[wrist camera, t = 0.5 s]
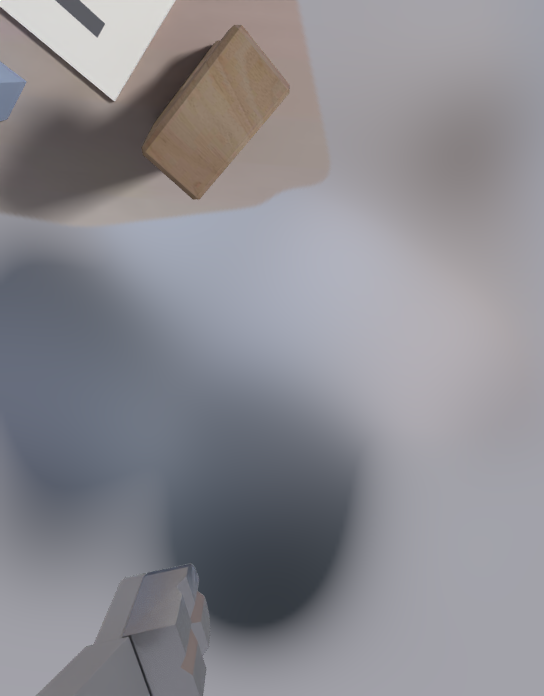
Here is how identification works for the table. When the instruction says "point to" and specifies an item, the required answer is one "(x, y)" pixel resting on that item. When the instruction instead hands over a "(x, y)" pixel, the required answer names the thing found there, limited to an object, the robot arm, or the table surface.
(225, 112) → the decorative block
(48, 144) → the table surface
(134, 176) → the table surface
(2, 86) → the slate-blue block
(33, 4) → the letter board
